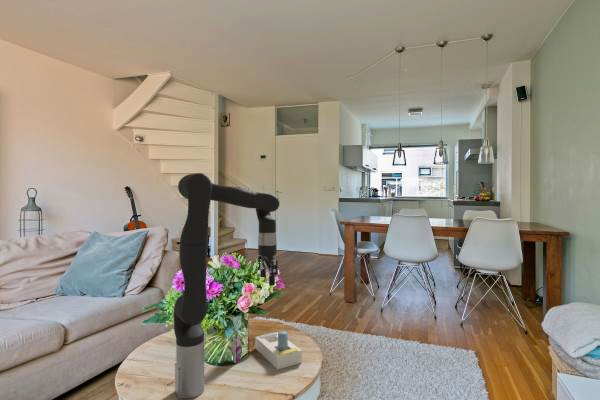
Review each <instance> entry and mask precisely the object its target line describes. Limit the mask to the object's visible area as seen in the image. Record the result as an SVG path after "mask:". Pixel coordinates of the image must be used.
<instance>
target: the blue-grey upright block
mask: <svg viewBox="0 0 600 400" xmlns="http://www.w3.org/2000/svg"><path fill="white" fill-rule="evenodd" d="M277 332H278V331H277ZM288 336H289V334H288V331H285V330H283V331H279V332H278V351H279V352H281V351H285V350H288V340H289V339H288V338H289V337H288Z"/></svg>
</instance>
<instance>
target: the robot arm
mask: <svg viewBox="0 0 600 400" xmlns="http://www.w3.org/2000/svg"><path fill="white" fill-rule="evenodd" d="M177 185H178V186H177V188H178V189H177V190H178V192H179V194H180V195H181V196H182V197H183V198H185V199H187V216H186V219H185V223H184V226H183V229H182V231H181V234H180V239H179V263H180V269H181V272H182V278H183V284H184V286H183V287H184V288H183V289H184V290H183V294H181V295H180V296H179V297H178V298H177V299H176V301H175V303H174V306H173V329H174V335H175V336H174V337H175V345H176V346H175V347H176V350H175V353H176V355H175V361H176V362H175V363H174V392H175V395H176V397H177V399H178V400H180V399H191V398H196V397H199V396H200V395H202V394H203V393H204V391H205V331H204V329H203V326H202V322H203V321H204V320H205V318H206V316H207V313H208V299H207V298H208V297H207V270H208V269H207V268H208V267H207V266H208V254H209V253H208V248H209V246H208V245H209V216H210V207H211V201H215V202H220V203H225V204H227V205H228V204H229V205H233V206H237V207H242V208H247V209H255V213H256V217H257V220H258V237H257V255H258V256H257V265H258V264H259V267H258V266H257V270H259V273H260V276H261V277H265V278H266V279H267V272H268V286H272V287H273V286H275V285H276V284H275V283H276V279H275V277H276V276H278V274H279V271H278V269H279V267H278V260H277V259H274V257H275V256H276V255H277V251H278V249H277V248H278V247H277V222H276V219H275V218H274V217H272V214H271V213H273V212H275V211H277V210H278V209H279V208H280V205H281V204H280V200H279V198H278V197H277V196H276V195H275V194H271V193H265V192H257V191H254V190H250V189H248V188H247V189H246V188H244V187H243V188H241V187H239V186H238V187H236V186H228V185H223V184H222V185H221V184H216V183H214V182H212V181H211V179H210V177H209V176H208V175H207V174H205V173H202V172H198V173H190V174H186V175H184V176H182V177H181V178H180V180H179V182H178V184H177ZM260 259H261V260H260ZM258 262H261V263H258Z"/></svg>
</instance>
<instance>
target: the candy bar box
mask: <svg viewBox="0 0 600 400" xmlns="http://www.w3.org/2000/svg"><path fill="white" fill-rule="evenodd" d="M247 320H248V350H249V351H250V322H249V321H250V315H249V314H247ZM232 349H233V350H232V351H233V358H234V363H233V364H238V363H239V362H240V361H241V360H240V357H241V353H242V347H241V341H240V339H239V336H237V335H235V336H234V337H233V341H232Z"/></svg>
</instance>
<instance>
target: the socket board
mask: <svg viewBox="0 0 600 400" xmlns="http://www.w3.org/2000/svg"><path fill="white" fill-rule="evenodd" d="M254 343H255V347H254V348H255V349H256V350H257V351H258V352H259V354H260V355H262V356H263V357H264V358H265V359H266V360H267V361H268V362H269V363H270V364H271V365H272V367H274V369H276V370H277V371H278V370H281V369H285V368H288V367H292V366H295V365H299V364H301V363H302V362H303V359H302V358H303V357H302V356H303V353H302V352H303V351H302V349H301V348H300V347H298V346H296V344H294V343H293V342H291V341H290V340H289V339H288V350H285V351H281V352H279V351H278V331H277V332H270V333H265V334H262V335H258V336H255V342H254Z"/></svg>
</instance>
